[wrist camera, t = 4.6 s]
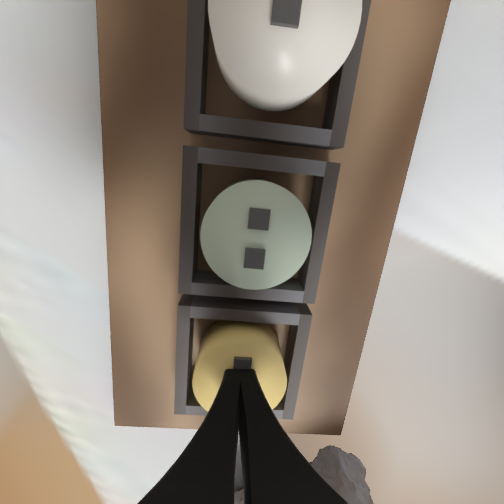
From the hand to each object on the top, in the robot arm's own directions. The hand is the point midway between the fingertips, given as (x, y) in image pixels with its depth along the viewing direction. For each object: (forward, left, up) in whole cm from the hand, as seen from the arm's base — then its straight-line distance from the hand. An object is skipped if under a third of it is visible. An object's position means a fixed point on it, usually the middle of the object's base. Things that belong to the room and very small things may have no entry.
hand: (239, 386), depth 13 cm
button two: (0, -7, -3) cm, 7 cm away
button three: (0, 0, -3) cm, 3 cm away
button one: (0, -14, -1) cm, 14 cm away
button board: (0, -7, -4) cm, 8 cm away
